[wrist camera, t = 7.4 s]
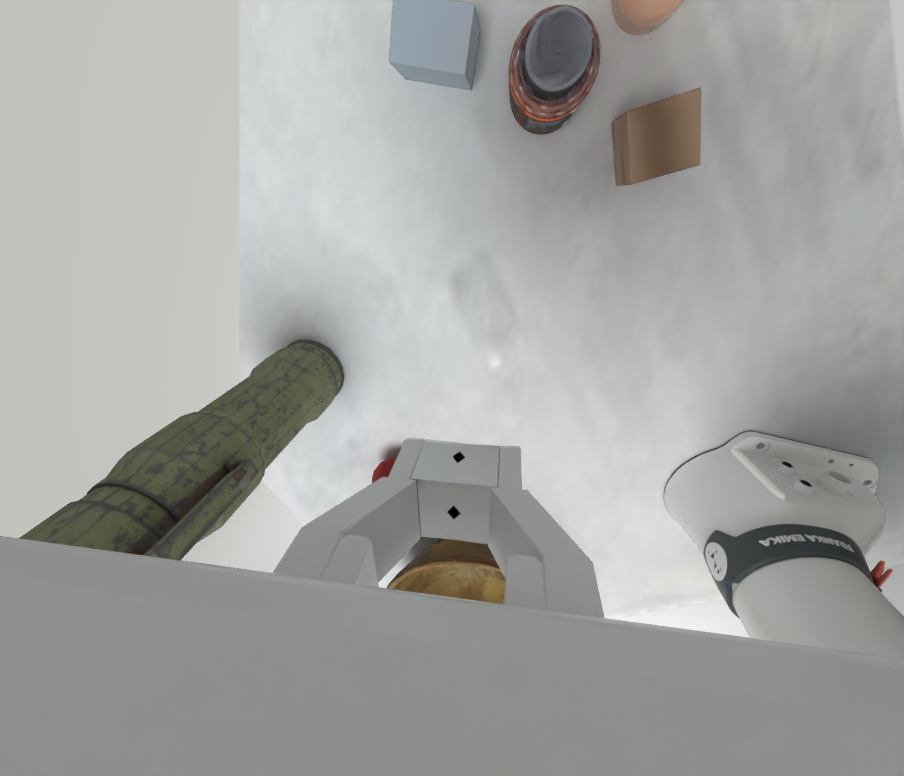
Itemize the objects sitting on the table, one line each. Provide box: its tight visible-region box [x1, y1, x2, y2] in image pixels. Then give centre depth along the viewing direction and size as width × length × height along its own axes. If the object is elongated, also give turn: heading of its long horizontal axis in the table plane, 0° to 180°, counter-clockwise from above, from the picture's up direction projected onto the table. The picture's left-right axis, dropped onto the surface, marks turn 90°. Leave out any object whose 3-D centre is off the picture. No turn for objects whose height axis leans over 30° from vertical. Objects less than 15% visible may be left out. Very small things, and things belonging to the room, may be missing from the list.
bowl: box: [387, 539, 505, 604], centre depth 56 cm, size 22×23×10 cm
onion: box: [372, 458, 397, 483], centre depth 50 cm, size 6×6×8 cm
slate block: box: [389, 0, 480, 90], centre depth 30 cm, size 6×4×5 cm, turn 81°
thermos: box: [19, 340, 344, 560], centre depth 33 cm, size 9×12×35 cm
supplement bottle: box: [509, 5, 600, 134], centre depth 27 cm, size 6×6×11 cm
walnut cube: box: [612, 87, 701, 186], centre depth 31 cm, size 5×5×5 cm
